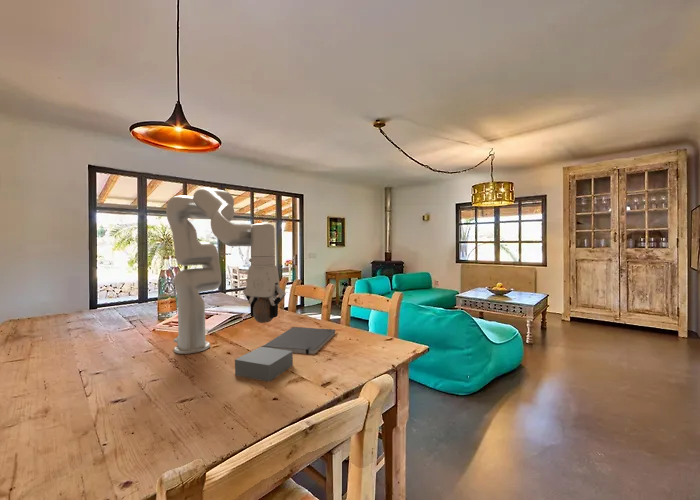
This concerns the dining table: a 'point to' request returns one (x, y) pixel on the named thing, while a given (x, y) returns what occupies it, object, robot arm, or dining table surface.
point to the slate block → (263, 363)
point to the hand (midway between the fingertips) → (264, 315)
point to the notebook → (302, 340)
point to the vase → (262, 310)
